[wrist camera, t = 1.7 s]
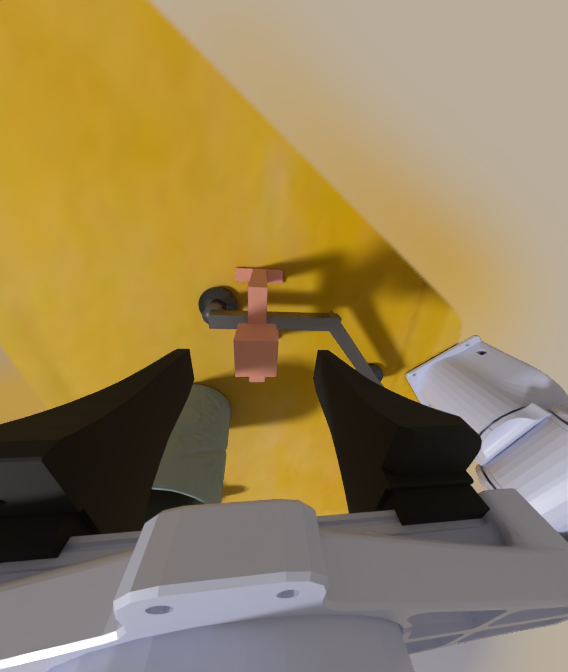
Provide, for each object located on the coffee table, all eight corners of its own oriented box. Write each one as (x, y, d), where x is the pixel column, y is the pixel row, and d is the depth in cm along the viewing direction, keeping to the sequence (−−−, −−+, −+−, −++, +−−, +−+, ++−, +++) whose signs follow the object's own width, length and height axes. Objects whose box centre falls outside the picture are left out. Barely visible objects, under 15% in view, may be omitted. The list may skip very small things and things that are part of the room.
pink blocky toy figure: (282, 269, 20) (298, 300, 11) (278, 338, 23) (288, 405, 14) (235, 267, 19) (212, 297, 10) (238, 337, 22) (222, 406, 14)
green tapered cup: (192, 444, 29) (152, 565, 19) (135, 401, 25) (39, 526, 14) (251, 414, 28) (244, 528, 17) (201, 362, 23) (149, 471, 13)
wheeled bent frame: (287, 222, 18) (294, 219, 14) (384, 376, 27) (405, 401, 23) (192, 301, 20) (175, 318, 16) (310, 419, 29) (318, 448, 25)
